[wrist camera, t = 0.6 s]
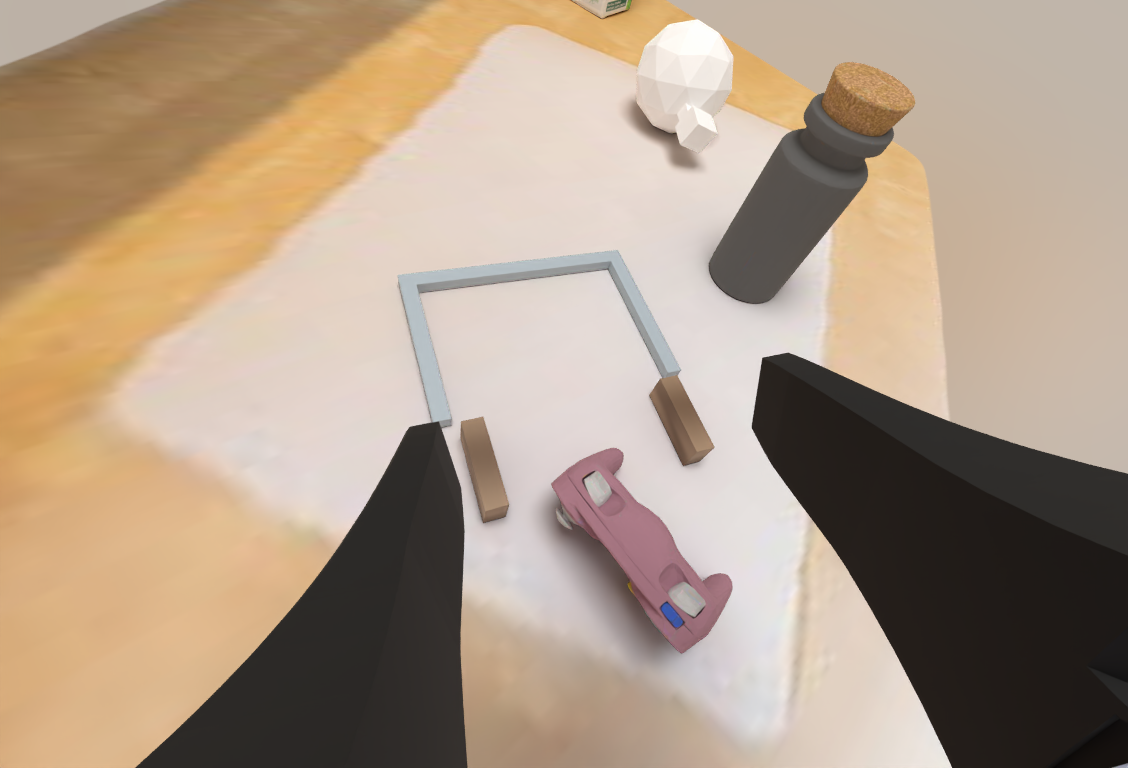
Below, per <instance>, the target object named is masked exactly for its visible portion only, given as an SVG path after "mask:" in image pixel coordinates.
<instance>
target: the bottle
mask: <svg viewBox="0 0 1128 768" xmlns="http://www.w3.org/2000/svg"><path fill="white" fill-rule="evenodd" d="M914 105H915V99H914V96H913V95H912V93H911V92H910V91H909V89H908V88H907V87H906V86H905V85H904V84H902V83H901V82H900V81H899V80H897V79H896V78H894V77H893V76H891V75H889V74H887V73H885V72H883V71H881V70H879V69H877V68H874V67H871V66H868V65H865V64H860V63H854V62H851V63H850V62H848V63H842V64H839V65H838V66H837V67H836V68H835V69H834V72H833V74H832V76H831V79H830V81H829V84H828V86H827V89H826V91H825V93H822V94H819V95H817V96H815V97H814V98H813V99H812V101H811V102H810V104H809V106H808V107H807V109H806V111H805V113H804V121H805V123H806V125H807V127H806V128H805V129H798V130H795V131H792V132H790V133H788V134H786V135H785V136H784V137H783V138H782V140H781V141H780V143H779V144H778V146H777V148H776V149H775V151H774V152H773V154H772V156H771V157H770V159H769V161H768V162H767V164H766V166H765V167H764V169H763V171H762V172H761V174H760V176H759V177H758V179H757V181H756V183H755V184H754V186H753V188H752V189H751V191H750V193H749V194H748V196H747V198H746V199H745V201H744V203H743V204H742V206H741V208H740V209H739V211H738V213H737V214H736V216H735V218H734V219H733V221H732V223H731V225H730V226H729V228H728V230H727V231H726V233H725V235H724V237H723V238H722V240H721V242H720V243H719V245H718V247H717V249H716V250H715V252H714V254H713V256H712V258H711V260H710V264H709V269H710V273H711V276H712V278H713V280H714V281H715V283H716V284H717V285H718V286H719V287H720V288H721V289H722V290H723V291H724V292H726V293H727V294H729V295H730V296H732V297H734V298H736V299H738V300H741V301H744V302H749V303H762V302H766V301H768V300H770V299H771V298H772V297H774V296H775V294H776V293H777V292H778V291H779V290H780V289H781V287H782V286H783V285H784V284H785V283H786V281H787V280H788V279H789V278H790V276H791V275H792V274H793V273H794V272H795V270H796V269H797V268H798V267H799V265H800V264H801V263H802V262H803V261H804V259H805V258H806V257H807V256H808V254H809V253H810V252H811V251H812V249H813V248H814V247H815V246H816V245H817V243H818V242H819V241H820V240H821V238H822V237H823V236H824V235H825V233H826V232H827V231H828V230H829V228H830V227H831V226H832V225H833V223H834V222H835V221H836V220H837V219H838V217H839V216H840V215H841V214H842V212H843V211H844V210H845V209H846V207H847V206H848V205H849V204H850V202H851V201H852V200H853V198H854V197H855V196H856V195H857V193H858V192H859V191H860V190H861V188H862V187H863V186H864V184H865V183H866V181H867V178H868V169H867V165H866V162H865V160H864V159H865V158H870V157H875V156H878V155H880V154H881V153H882V152H883V151H884V150H885V149H886V147H887V146H888V145H889V144H890V142H891V141H892V139H893V136H894V132H893V128H892V127H893V126H894V125H895V124H896V123H897V122H898V121H899V120H901V119H902V118H903V117H904V116H905V115H906V114H907V113H908V112H909V111H910V110H911V109H912V108H913V107H914Z"/></svg>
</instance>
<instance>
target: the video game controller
mask: <svg viewBox="0 0 1128 768" xmlns="http://www.w3.org/2000/svg"><path fill="white" fill-rule="evenodd" d="M622 462H623V452H622V451H620V450H619V449H617V448H610V449H606V450H604V451H601V452H598V453H596V454H593V455H591V456H589V457H586V458H584V459H582V460H580V461H579V462H577V463H576V464H575V465H573V466H571V467H569V468H568V469H567V470H566V471H565V472H564V473H563V474H561V475H560V476H559V477H558V478H557V479H556V480H555V481H554V482H553V483H552V488H553V489H554V491H555V492H556V494H557V496H558V497H559V499H560V501H561V506H562V510H563V513H562V512H561V511H560V510H559V509H558V508H557V509H556V515H557V519H558V520H559V522H560V523H561V524H562V525H563V526H564V527H566V528H569V529H573V527H572V525H571V523H570V522H572V523H574V524H576V525H579V526H580V527H582V528H584V529H585V531H586V532H587V533H588V534H589V535H590V536H591V537H593V538H594V539H596V540H599V541H600V542H601V543H602V544H603V545H604V546H605V547H606V548H607V550H608V551H609V552H610V554H611V555H612V556H613V557H614V559H615V560H616V561H617V563H618V564H619V565H620V566H621V568H622V569H623V570H624V572H625V574H626V575H627V577H628V579H629V580H630V582H629V583H628V587H629V589H630V591H631V592H632V593H633V594H634V595H635V596H636V598H637V599H638V601H639V602H640V604H641V606H642V607H643V609H644V611H645V613H646V615H647V616H648V618H649V619H650V621H651V622H652V624H653V625H654V626H655V627H656V628H657V630H658V631H659V632H660V633H662V634H663V635H664V637H665V638H666V639H667V640H668V641H669V642H670V643H671V644H672V645H673V646H674V648H675V649H676V650H677V651H679V652H680V653H684V652H685V651H687V650H688V649H689V648H691V647H692V646H693V645H695V644H696V643H697V642H699V641H700V640H702V639H703V638H704V637H706V636H707V635H708V633H709V632H710V630H711V629H712V627H713V626H714V624H715V623H716V621H717V619H718V618H719V616H720V614H721V612H722V610H723V609H724V607H725V605H726V603H727V601H728V599H729V597H730V594H731V592H732V581H731V579H730V578H729V576H728V575H726V574H721V573H719V574H714V575H711V576H709V577H708V578H707V579H705V580H704V581H703V582H702V581H701V579H700V578H699V577H698V575H697V574H696V572H695V571H694V570H693V569H692V568H691V566H690V565H689V564H688V563H687V561H686V560H685V559H684V558H683V557H682V555H681V554H680V552H679V551H678V549H677V547H676V545H675V542H674V540H673V537H672V536H671V534H670V532H669V530H668V528H667V527H666V525H665V524H664V523H663V522H662V520H661V519H660V518H659V517H658V516H656V515H655V514H654V513H653V512H652V511H650V510H649V509H648V508H646V507H644V506H643V505H641V504H639V503H638V502H637V501H636V500H635V499H634V498H633V497H632V495H631V494H630V493H629V492H628V491H627V489H626V488H625V487H624V486H623V485H622V484H621V482H620V481H619V480H618V479H617V478H616V477H615V476H614V475H613V474H614V473H615V472H616V471H617V470H618V469H619V468H620V467H621V465H622Z"/></svg>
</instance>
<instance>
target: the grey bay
mask: <svg viewBox="0 0 1128 768" xmlns="http://www.w3.org/2000/svg"><path fill="white" fill-rule="evenodd" d="M603 269H608V270H609V272H610V274H611V276H612V278H613V280H614V282H615V284H616V286H617V288H618V290H619V292H620V294H621V296H622V298H623V300H624V302H625V304H626V306H627V308H628V310H629V312H630V313H631V315H632V317H633V319H634V321H635V323H636V325H637V327H638V329H639V331H640V333H641V335H642V337H643V339H644V341H645V343H646V345H647V347H648V349H649V351H650V353H651V355H652V357H653V359H654V361H655V363H656V365H657V367H658V369H659V371H660V373H661V375H662V377H663V378H666V377H671V376H675V375H678V374H679V372H680V371H681V369H680V367H679V365H678V363H677V361H676V359H675V357H674V355H673V354H672V352H671V350H670V348H669V346H668V344H667V342H666V340H665V338H664V337H663V335H662V333H661V331H660V329H659V327H658V325H657V323H656V321H655V319H654V318H653V316H652V314H651V312H650V310H649V308H648V306H647V304H646V302H645V301H644V299H643V297H642V295H641V293H640V291H639V289H638V287H637V285H636V284H635V282H634V280H633V278H632V276H631V274H630V272H629V270H628V268H627V266H626V265H625V263H624V261H623V259H622V257H621V255H620V253H619V251H618V250H614V251H605V252H597V253H588V254H579V255H570V256H561V257H552V258H544V259H535V260H526V261H517V262H508V263H499V264H490V265H482V266H473V267H464V268H455V269H446V270H437V271H429V272H420V273H411V274H402V275H398V282H399V287H400V291H401V295H402V299H403V303H404V308H405V312H406V316H407V320H408V324H409V328H410V332H411V337H412V341H413V345H414V349H415V353H416V357H417V362H418V366H419V370H420V374H421V378H422V382H423V387H424V391H425V395H426V399H427V403H428V407H429V411H430V416H431V420H432V422H437V421H439V423H440V426H441V427H445V426H450V425H452V419H451V415H450V411H449V407H448V403H447V399H446V396H445V392H444V388H443V384H442V380H441V377H440V373H439V369H438V365H437V361H436V357H435V354H434V350H433V346H432V342H431V338H430V335H429V331H428V327H427V323H426V319H425V315H424V312H423V308H422V304H421V300H420V296H419V293H421V292H429V291H436V290H444V289H452V288H460V287H468V286H476V285H484V284H492V283H500V282H508V281H516V280H524V279H532V278H540V277H548V276H556V275H563V274H571V273H579V272H587V271H595V270H603Z"/></svg>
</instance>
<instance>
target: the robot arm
mask: <svg viewBox="0 0 1128 768" xmlns="http://www.w3.org/2000/svg"><path fill="white" fill-rule="evenodd" d="M752 429H753V431H754V433H755V435H756V437H757V439H758V441H759V443H760V445H761V447H762V448H763V450H764V452H765V454H766V455H767V457H768V459H769V461H770V462H771V464H772V466H773V467H774V469H775V470H776V471H777V473H778V474H779V476H780V477H781V478H782V480H783V481H784V482H785V484H786V485H787V486H788V488H789V489H790V491H791V492H792V493H793V495H794V496H795V497H796V499H797V500H798V501H799V503H800V504H801V505H802V507H803V508H804V509H805V511H806V512H807V513H808V515H809V516H810V517H811V519H812V520H813V521H814V523H815V524H816V525H817V527H818V528H819V529H820V531H821V532H822V533H823V535H824V536H825V537H826V539H827V540H828V541H829V543H830V544H831V546H832V547H833V548H834V550H835V551H836V553H837V554H838V556H839V557H840V559H841V560H842V562H843V563H844V565H845V566H846V568H847V570H848V571H849V573H850V575H851V576H852V578H853V580H854V581H855V583H856V585H857V586H858V588H859V590H860V591H861V593H862V595H863V596H864V598H865V600H866V601H867V603H868V605H869V606H870V608H871V610H872V612H873V614H874V615H875V617H876V619H877V621H878V623H879V624H880V626H881V628H882V630H883V631H884V633H885V635H886V637H887V639H888V640H889V642H890V644H891V646H892V647H893V649H894V651H895V653H896V655H897V657H898V659H899V661H900V663H901V665H902V666H903V668H904V670H905V672H906V674H907V676H908V678H909V680H910V682H911V684H912V686H913V688H914V690H915V691H916V693H917V695H918V697H919V699H920V701H921V703H922V705H923V707H924V709H925V711H926V713H927V716H928V718H929V720H930V722H931V724H932V726H933V728H934V730H935V732H936V734H937V736H938V739H939V741H940V743H941V745H942V747H943V749H944V751H945V753H946V755H947V757H948V759H949V762H950V764H951V766H952V768H1128V474H1126V473H1122V472H1118V471H1114V470H1110V469H1106V468H1102V467H1097V466H1093V465H1089V464H1086V463H1082V462H1078V461H1075V460H1071V459H1067V458H1063V457H1060V456H1056V455H1052V454H1049V453H1045V452H1041V451H1038V450H1035V449H1031V448H1028V447H1024V446H1021V445H1018V444H1014V443H1011V442H1008V441H1005V440H1002V439H999V438H996V437H993V436H990V435H987V434H984V433H981V432H978V431H975V430H972V429H969V428H966V427H963V426H960V425H958V424H955V423H952V422H950V421H947V420H944V419H942V418H939V417H937V416H934V415H932V414H929V413H927V412H924V411H922V410H919V409H917V408H914V407H912V406H909V405H907V404H905V403H902V402H900V401H897V400H895V399H893V398H890V397H888V396H886V395H884V394H881V393H879V392H877V391H875V390H872V389H870V388H868V387H866V386H863V385H861V384H859V383H857V382H855V381H852V380H850V379H848V378H846V377H844V376H841V375H839V374H837V373H835V372H833V371H830V370H828V369H826V368H824V367H822V366H819V365H817V364H815V363H813V362H810V361H808V360H806V359H803V358H801V357H798V356H796V355H793V354H790V353H784V354H779V355H774V356H769V357H764V358H762V364H761V370H760V377H759V383H758V389H757V396H756V402H755V409H754V415H753V422H752ZM463 559H464V517H463V505H462V493H461V486H460V483H459V480H458V477H457V474H456V471H455V468H454V465H453V462H452V459H451V456H450V453H449V450H448V447H447V444H446V441H445V438H444V435H443V432H442V429H441V426H440V423H439V421H437V422H432V423H427V424H422V425H417V426H412V427H409V429H408V430H407V431H406V433H405V435H404V437H403V439H402V441H401V443H400V445H399V447H398V449H397V451H396V453H395V454H394V456H393V458H392V460H391V462H390V464H389V466H388V467H387V469H386V471H385V473H384V475H383V477H382V478H381V480H380V482H379V483H378V485H377V487H376V489H375V490H374V492H373V494H372V495H371V497H370V499H369V501H368V502H367V504H366V506H365V507H364V509H363V511H362V512H361V514H360V515H359V517H358V518H357V520H356V521H355V523H354V524H353V526H352V528H351V529H350V531H349V532H348V534H347V535H346V537H345V538H344V540H343V541H342V543H341V544H340V546H339V547H338V549H337V550H336V552H335V553H334V554H333V556H332V557H331V559H330V560H329V561H328V563H327V564H326V565H325V567H324V568H323V569H322V571H321V572H320V574H319V575H318V576H317V577H316V579H315V580H314V581H313V583H312V584H311V585H310V586H309V588H308V589H307V590H306V592H305V593H304V594H303V595H302V597H301V598H300V599H299V600H298V602H297V603H296V604H295V605H294V606H293V608H292V609H291V610H290V611H289V612H288V613H287V615H286V616H285V617H284V618H283V619H282V620H281V622H280V623H279V624H278V625H277V626H276V627H275V628H274V630H273V631H272V632H271V633H270V634H269V635H268V636H267V638H266V639H265V640H264V641H263V642H262V643H261V644H260V646H259V647H258V648H257V649H256V650H255V651H254V652H253V653H252V654H251V656H250V657H249V658H248V659H247V660H246V661H245V662H244V663H243V664H242V665H241V666H240V667H239V668H238V669H237V670H236V671H235V672H234V673H233V674H232V675H231V676H230V678H229V679H228V680H227V681H226V682H225V683H224V684H223V685H222V686H221V687H220V688H219V689H218V690H217V691H216V692H215V693H214V694H213V695H212V696H211V697H210V698H209V699H208V700H207V701H206V702H205V703H204V704H203V705H202V706H201V707H200V708H199V709H198V710H197V711H196V712H195V713H194V714H193V715H192V716H191V717H190V718H188V719H187V720H186V721H185V722H184V723H183V724H182V725H181V726H180V727H179V728H178V729H177V730H176V731H175V732H174V733H173V734H172V735H171V736H170V737H168V738H167V739H166V740H165V741H164V742H163V743H162V744H161V745H160V746H159V747H158V748H156V749H155V750H154V751H153V752H152V753H151V754H150V755H149V756H148V757H147V758H145V759H144V760H143V761H142V762H141V763H140V764H139V765H138V766H137V767H136V768H467V756H466V741H465V725H464V710H463V693H462V674H461V655H460V631H461V607H462V583H463Z"/></svg>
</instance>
